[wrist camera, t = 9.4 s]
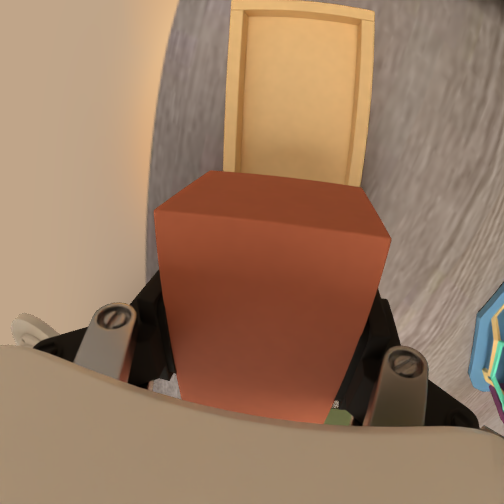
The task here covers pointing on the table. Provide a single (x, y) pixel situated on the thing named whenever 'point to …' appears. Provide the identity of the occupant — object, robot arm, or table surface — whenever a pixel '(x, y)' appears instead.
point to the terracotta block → (267, 289)
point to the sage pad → (338, 417)
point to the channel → (298, 90)
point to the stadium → (490, 350)
